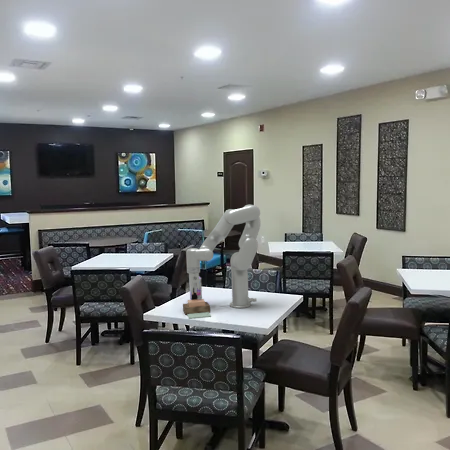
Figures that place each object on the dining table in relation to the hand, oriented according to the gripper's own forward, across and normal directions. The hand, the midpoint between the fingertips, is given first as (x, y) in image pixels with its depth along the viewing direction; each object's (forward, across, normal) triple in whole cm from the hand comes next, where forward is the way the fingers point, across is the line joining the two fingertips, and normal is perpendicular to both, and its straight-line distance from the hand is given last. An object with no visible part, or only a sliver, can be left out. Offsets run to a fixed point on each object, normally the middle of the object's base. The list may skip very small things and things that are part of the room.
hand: (194, 301), depth 271 cm
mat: (+5, -14, 0) cm, 15 cm away
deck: (+5, -6, 0) cm, 7 cm away
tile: (0, -6, 0) cm, 6 cm away
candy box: (+5, +14, -3) cm, 15 cm away
